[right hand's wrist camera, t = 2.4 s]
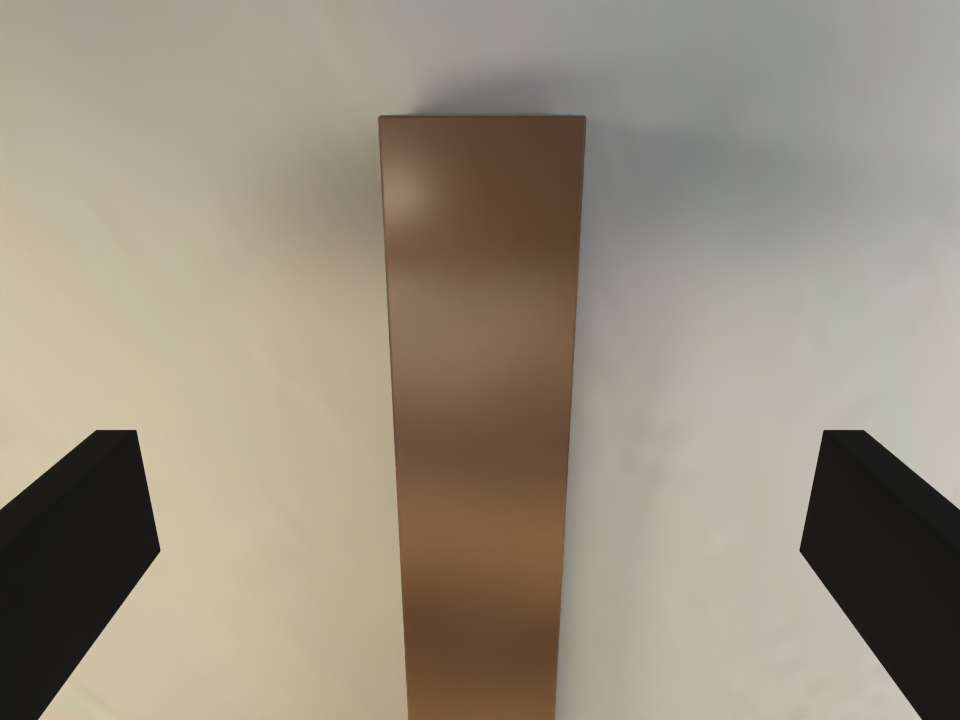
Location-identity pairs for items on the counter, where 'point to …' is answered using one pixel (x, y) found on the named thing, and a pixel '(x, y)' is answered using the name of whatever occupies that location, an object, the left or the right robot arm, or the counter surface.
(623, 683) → the counter surface
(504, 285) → the bar
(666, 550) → the counter surface
